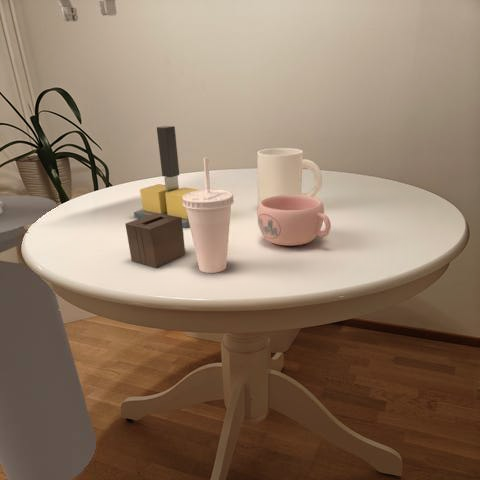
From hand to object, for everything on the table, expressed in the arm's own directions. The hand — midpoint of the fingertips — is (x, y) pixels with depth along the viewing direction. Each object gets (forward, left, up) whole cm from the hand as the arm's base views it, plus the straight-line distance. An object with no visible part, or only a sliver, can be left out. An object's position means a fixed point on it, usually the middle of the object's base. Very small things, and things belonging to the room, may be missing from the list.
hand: (89, 18), depth 66 cm
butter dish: (+11, +1, -31) cm, 33 cm away
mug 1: (+30, +12, -31) cm, 45 cm away
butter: (+11, +1, -31) cm, 33 cm away
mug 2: (+36, -6, -31) cm, 48 cm away
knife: (+11, +1, -30) cm, 32 cm away
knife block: (+19, -18, -31) cm, 41 cm away
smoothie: (+28, -19, -31) cm, 46 cm away
